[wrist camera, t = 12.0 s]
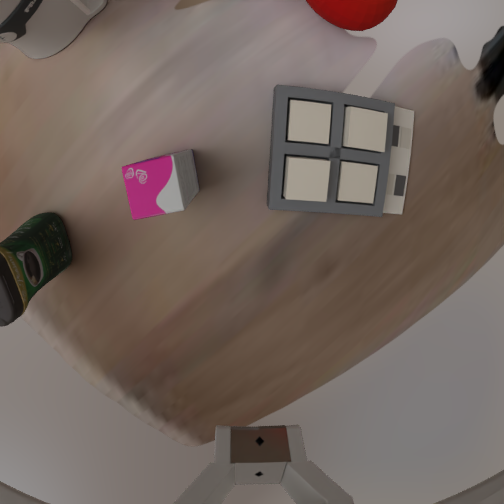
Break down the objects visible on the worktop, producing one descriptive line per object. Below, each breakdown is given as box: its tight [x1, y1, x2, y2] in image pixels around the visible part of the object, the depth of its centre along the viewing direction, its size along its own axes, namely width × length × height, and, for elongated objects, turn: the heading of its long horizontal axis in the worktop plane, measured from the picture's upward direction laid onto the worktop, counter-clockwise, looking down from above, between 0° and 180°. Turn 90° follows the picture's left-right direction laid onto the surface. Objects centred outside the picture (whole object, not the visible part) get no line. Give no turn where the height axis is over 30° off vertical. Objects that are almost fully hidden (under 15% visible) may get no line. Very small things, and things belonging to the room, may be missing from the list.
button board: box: [267, 85, 414, 217], centre depth 38 cm, size 16×20×3 cm
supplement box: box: [122, 150, 200, 220], centre depth 34 cm, size 6×6×12 cm
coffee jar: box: [0, 213, 72, 326], centre depth 33 cm, size 10×8×19 cm
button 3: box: [283, 156, 331, 202], centre depth 37 cm, size 5×5×2 cm
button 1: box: [336, 160, 378, 203], centre depth 39 cm, size 5×5×2 cm
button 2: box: [342, 107, 388, 152], centre depth 35 cm, size 5×5×2 cm
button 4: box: [285, 100, 331, 144], centre depth 36 cm, size 5×5×2 cm
